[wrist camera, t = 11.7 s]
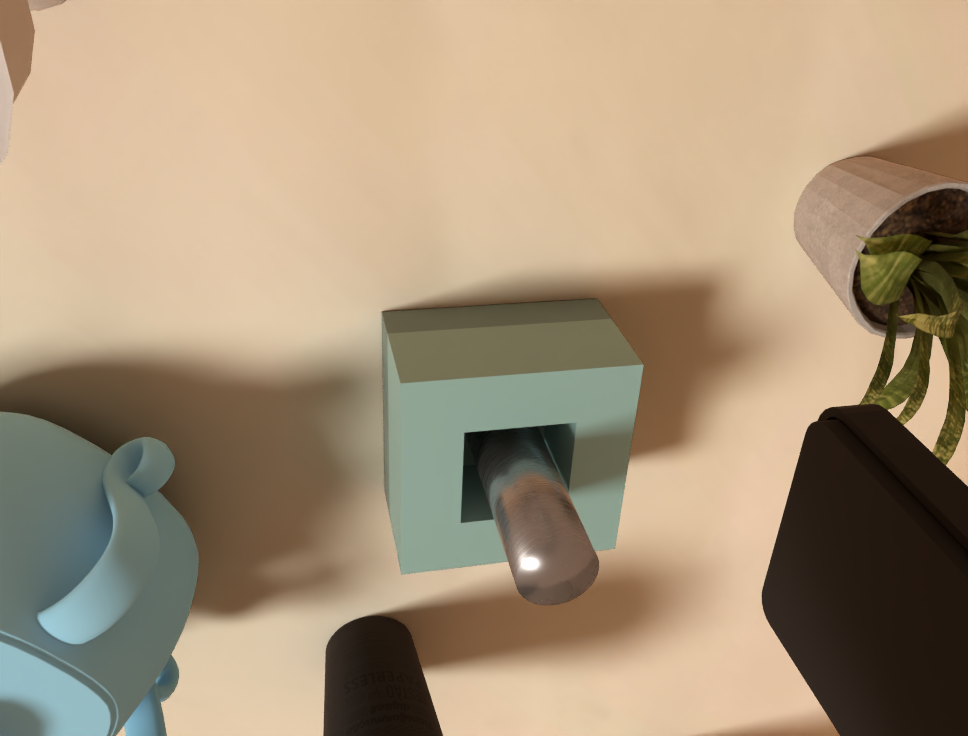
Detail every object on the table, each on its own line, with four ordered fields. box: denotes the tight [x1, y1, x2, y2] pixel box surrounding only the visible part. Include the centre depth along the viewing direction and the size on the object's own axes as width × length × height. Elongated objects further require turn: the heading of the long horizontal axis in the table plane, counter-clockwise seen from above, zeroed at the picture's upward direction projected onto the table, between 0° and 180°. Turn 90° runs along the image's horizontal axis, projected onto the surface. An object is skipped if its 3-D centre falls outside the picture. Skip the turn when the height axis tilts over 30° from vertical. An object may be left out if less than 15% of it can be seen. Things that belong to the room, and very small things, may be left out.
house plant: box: [794, 156, 968, 465], centre depth 36 cm, size 14×14×16 cm
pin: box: [465, 426, 599, 605], centre depth 38 cm, size 3×3×10 cm
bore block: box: [382, 299, 644, 575], centre depth 41 cm, size 10×10×6 cm
